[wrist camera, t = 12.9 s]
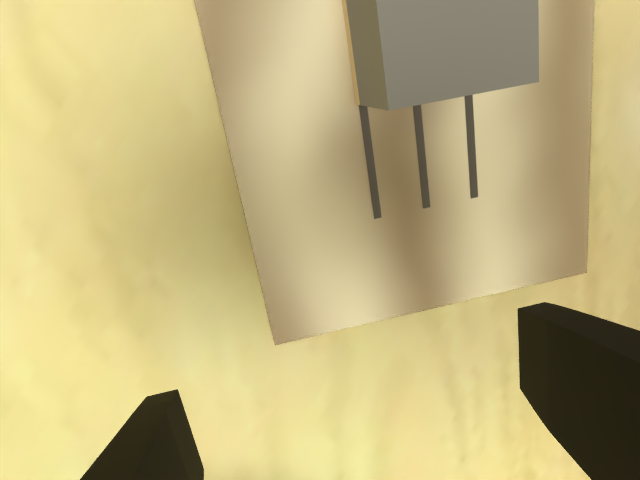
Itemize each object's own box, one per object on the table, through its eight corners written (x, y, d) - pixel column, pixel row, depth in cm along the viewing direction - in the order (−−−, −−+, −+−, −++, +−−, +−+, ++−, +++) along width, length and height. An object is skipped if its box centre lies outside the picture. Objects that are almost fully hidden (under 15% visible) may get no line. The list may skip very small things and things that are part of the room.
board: (583, -233, 15) (602, -251, 15) (574, 265, 21) (587, 272, 21) (153, -179, 14) (148, -195, 13) (273, 335, 20) (275, 345, 19)
